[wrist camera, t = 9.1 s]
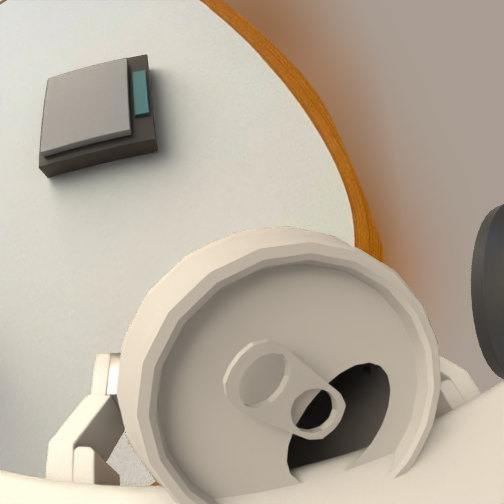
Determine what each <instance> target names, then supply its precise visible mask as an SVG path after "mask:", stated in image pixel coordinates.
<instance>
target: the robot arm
mask: <svg viewBox="0 0 504 504" xmlns="http://www.w3.org/2000/svg"><path fill="white" fill-rule="evenodd" d="M120 356H121V353H103V354H97V356H96V358H95V364H94V372H93V380H92V388H91V395H87V396H86V397H85V398H84V399H83V401H82V402H81V403H80V404H79V405H78V407H77V408H76V409H75V410H74V412H73V413H72V414H71V415H70V417H69V418H68V419H67V420H66V422H65V423H64V424H63V425H62V426H61V428H60V429H59V430H58V431H57V433H56V434H55V435H54V437H53V438H52V439H51V440H50V442H49V444H48V453H47V464H46V478H45V479H43V478H37V477H32V476H26V475H21V474H17V473H12V472H7V471H3V470H0V504H178V503H176V502H175V501H174V500H173V499H172V498H171V497H170V495H169V494H168V493H167V492H166V490H165V489H164V488H163V486H120V477H119V474H118V473H117V472H116V471H115V470H113V469H112V468H111V467H110V466H109V465H108V464H107V463H106V461H107V459H108V458H109V456H110V454H111V453H112V451H113V449H114V447H115V446H116V444H117V442H118V440H119V439H120V437H121V435H122V434H123V432H124V430H125V427H124V423H123V419H122V415H121V411H120V407H119V402H118V398H117V393H116V391H117V381H118V372H119V364H120ZM439 359H440V372H441V388H440V394H439V399H438V404H437V409H436V414H435V419H434V423H433V426H432V429H431V431H430V433H429V435H428V437H427V439H426V441H425V443H424V445H423V447H422V449H421V451H420V453H419V455H418V457H417V459H416V460H415V462H414V464H413V465H412V467H411V468H410V469H409V470H408V471H407V472H406V473H405V474H403V475H401V476H399V477H397V478H394V479H393V478H392V477H391V475H390V473H391V470H392V467H393V465H394V460H395V452H394V453H392V454H389V455H387V456H384V457H382V458H379V459H377V460H374V461H371V462H369V463H366V464H363V465H360V466H357V467H354V468H352V469H349V470H346V469H347V468H348V467H349V466H351V465H352V464H353V463H354V462H355V461H356V460H358V459H359V458H360V456H361V455H362V454H363V453H364V452H365V450H366V449H367V448H368V447H369V446H368V447H365V448H362V449H359V450H356V451H353V452H350V453H347V454H343V455H340V456H337V457H334V458H330V459H327V460H323V461H320V462H316V463H312V464H308V465H304V466H300V467H296V468H292V469H289V471H290V474H291V475H292V476H293V477H294V478H296V479H297V480H298V481H299V482H304V483H300V484H296V485H292V486H287V487H283V488H278V489H273V490H268V491H263V492H258V493H252V494H246V495H240V496H233V497H225V498H217V499H215V501H216V502H217V503H218V504H504V381H502V382H500V383H499V384H497V385H496V386H494V387H493V388H491V389H489V390H488V391H486V392H484V393H482V394H481V392H480V391H479V389H478V388H477V386H476V385H475V383H474V382H473V380H472V379H471V377H470V376H469V374H468V373H467V372H466V370H465V369H463V368H461V367H459V366H457V365H455V364H454V363H452V362H450V361H448V360H446V359H445V358H443V357H441V356H439ZM374 366H375V367H376V368H377V367H378V365H376V364H374ZM359 371H361V372H365V373H368V374H371V366H370V362H369V363H364V364H361V367H360V370H359Z"/></svg>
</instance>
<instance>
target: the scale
mask: <svg viewBox="0 0 504 504" xmlns="http://www.w3.org/2000/svg"><path fill="white" fill-rule="evenodd" d="M157 151H158V150H157V142H156V134H155V126H154V117H153V108H152V98H151V88H150V77H149V66H148V57H147V55H141V56H136V57H131V58H123V59H118V60H114V61H109V62H105V63H101V64H97V65H93V66H89V67H85V68H81V69H78V70H74V71H71V72H67V73H64V74H61V75H58V76H55V77H52V78H49V79H48V82H47V88H46V94H45V101H44V109H43V118H42V127H41V138H40V153H39V168H40V170H41V171H42V172H43V173H44V174H45V175H46V176H47V177H48V178H49V177H52V176H55V175H59V174H63V173H66V172H70V171H74V170H78V169H81V168H85V167H89V166H93V165H97V164H102V163H106V162H110V161H115V160H119V159H124V158H128V157H133V156H138V155H143V154H148V153H153V152H157Z"/></svg>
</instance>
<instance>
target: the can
mask: <svg viewBox="0 0 504 504" xmlns="http://www.w3.org/2000/svg"><path fill="white" fill-rule="evenodd" d="M369 362H370V366H371V374H368V373H365V372H361V371H359V370H360V367H361V364H364V363H369ZM374 364H376V365H378V367H377V368H376V367H375V366H374ZM440 388H441V372H440V359H439V349H438V341H437V339H436V336H435V334H434V331H433V328H432V326H431V323H430V321H429V318H428V316H427V314H426V311H425V309H424V306H423V304H422V302H421V301H420V300H419V299H418V298H417V296H416V295H415V294H414V293H413V292H412V290H411V289H410V288H409V287H408V286H407V284H406V283H405V282H404V281H403V280H402V278H401V277H400V276H399V275H398V274H397V273H396V271H394V270H393V269H391V268H389V267H388V266H386V265H385V264H383V263H381V262H380V261H378V260H377V259H375V258H373V257H372V256H370V255H368V254H367V253H365V252H363V251H362V250H360V249H358V248H356V247H352V246H350V245H349V244H347V243H345V242H343V241H342V240H340V239H338V238H337V237H335V236H332V235H327V234H322V233H318V232H313V231H308V230H303V229H299V228H294V227H289V226H283V227H274V228H265V229H256V230H248V231H239V232H235V233H232V234H230V235H228V236H226V237H224V238H222V239H219V240H217V241H215V242H213V243H211V244H209V245H206V246H204V247H202V248H200V249H198V250H196V251H194V252H191V253H189V254H187V255H186V256H185V257H184V258H183V259H182V260H181V261H180V262H179V263H178V264H177V265H175V266H174V267H173V268H172V269H171V270H170V271H169V272H168V273H167V274H166V275H165V276H164V277H163V278H162V279H161V280H160V281H159V282H158V283H157V284H155V285H154V286H153V287H152V288H151V289H150V290H149V291H148V292H147V294H146V296H145V298H144V300H143V302H142V303H141V305H140V307H139V309H138V311H137V313H136V315H135V317H134V319H133V321H132V323H131V325H130V327H129V329H128V331H127V333H126V335H125V337H124V339H123V342H122V349H121V356H120V364H119V372H118V381H117V391H116V393H117V398H118V402H119V407H120V411H121V415H122V419H123V423H124V427H125V431H126V435H127V438H128V442H129V443H130V445H131V446H132V448H133V449H134V451H135V452H136V454H137V455H138V457H139V458H140V460H141V461H142V463H143V464H144V466H145V467H146V468H147V470H148V471H149V473H150V474H151V475H152V477H153V478H154V479H155V481H156V482H157V483H159V484H160V485H161V486H163V488H164V489H165V490H166V492H167V493H168V494H169V495H170V497H171V498H172V499H173V500H174V501H175V502H176V503H178V504H218V503H217V502H216V501H215V499H217V498H225V497H233V496H240V495H246V494H252V493H258V492H263V491H268V490H273V489H278V488H283V487H287V486H292V485H296V484H300V483H304V482H299V481H298V480H297V479H296V478H294V477H293V476H292V475H291V474H290V471H289V469H292V468H296V467H300V466H304V465H308V464H312V463H316V462H320V461H323V460H327V459H330V458H334V457H337V456H340V455H343V454H347V453H350V452H353V451H356V450H359V449H362V448H365V447H368V446H369V447H368V448H367V449H366V450H365V452H364V453H363V454H362V455H361V456H360V458H359V459H358V460H356V461H355V462H354V463H353V464H352V465H351V466H349V467H348V468H347V469H346V470H349V469H352V468H354V467H357V466H360V465H363V464H366V463H369V462H371V461H374V460H377V459H379V458H382V457H384V456H387V455H389V454H392V453H394V452H395V460H394V465H393V467H392V470H391V473H390V475H391V477H392V478H393V479H394V478H397V477H399V476H401V475H403V474H405V473H406V472H407V471H408V470H409V469H410V468H411V467H412V465H413V464H414V462H415V460H416V459H417V457H418V455H419V453H420V451H421V449H422V447H423V445H424V443H425V441H426V439H427V437H428V435H429V433H430V431H431V429H432V426H433V423H434V419H435V414H436V409H437V404H438V399H439V394H440Z"/></svg>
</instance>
